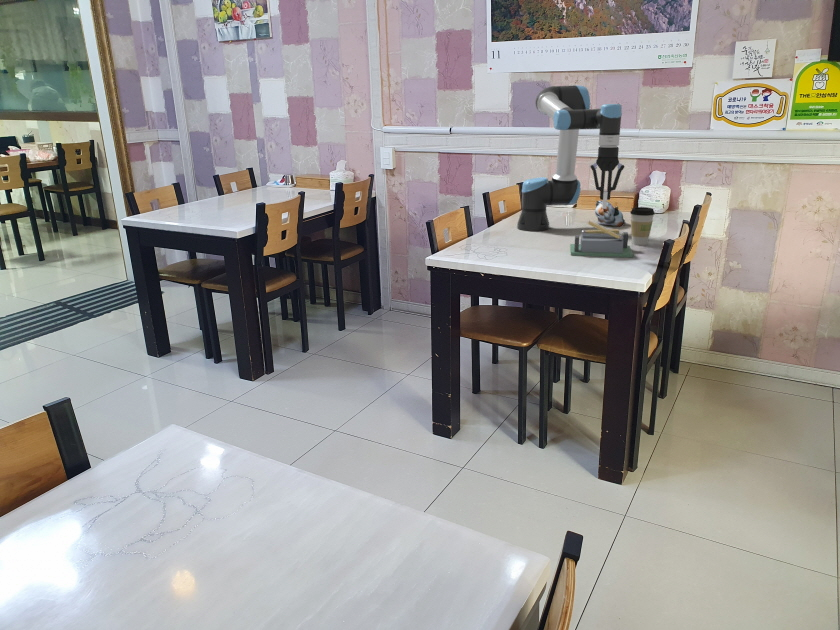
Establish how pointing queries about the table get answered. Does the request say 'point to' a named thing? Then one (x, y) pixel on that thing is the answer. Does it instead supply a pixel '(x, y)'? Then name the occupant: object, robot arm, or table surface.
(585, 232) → the rear strap
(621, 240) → the strap
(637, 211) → the coffee cup
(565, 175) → the robot arm
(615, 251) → the heatsink module
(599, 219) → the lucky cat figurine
